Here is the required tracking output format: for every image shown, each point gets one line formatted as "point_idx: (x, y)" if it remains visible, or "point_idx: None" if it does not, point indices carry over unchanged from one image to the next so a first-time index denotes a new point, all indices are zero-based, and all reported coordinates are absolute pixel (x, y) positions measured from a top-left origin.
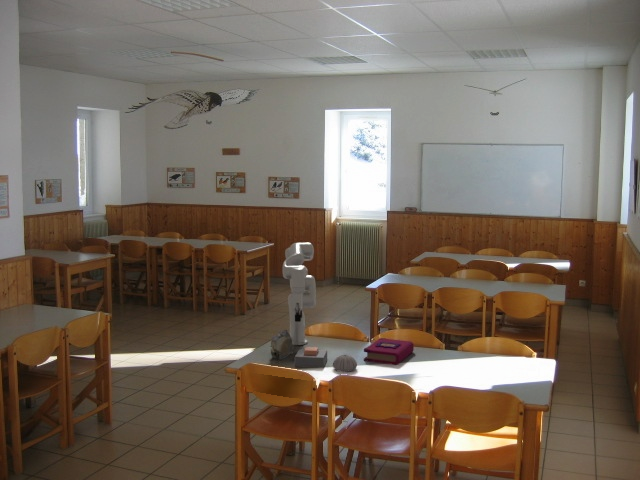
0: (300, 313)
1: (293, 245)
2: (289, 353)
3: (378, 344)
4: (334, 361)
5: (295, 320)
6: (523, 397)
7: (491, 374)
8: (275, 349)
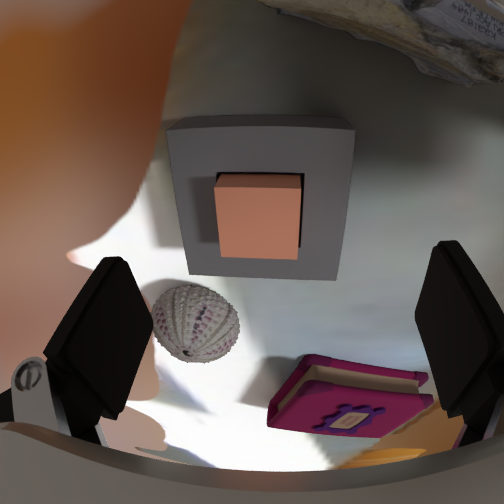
0: (440, 365)
1: None
2: (413, 59)
3: (354, 410)
4: (172, 307)
5: (102, 273)
6: (153, 450)
7: (234, 457)
8: None
